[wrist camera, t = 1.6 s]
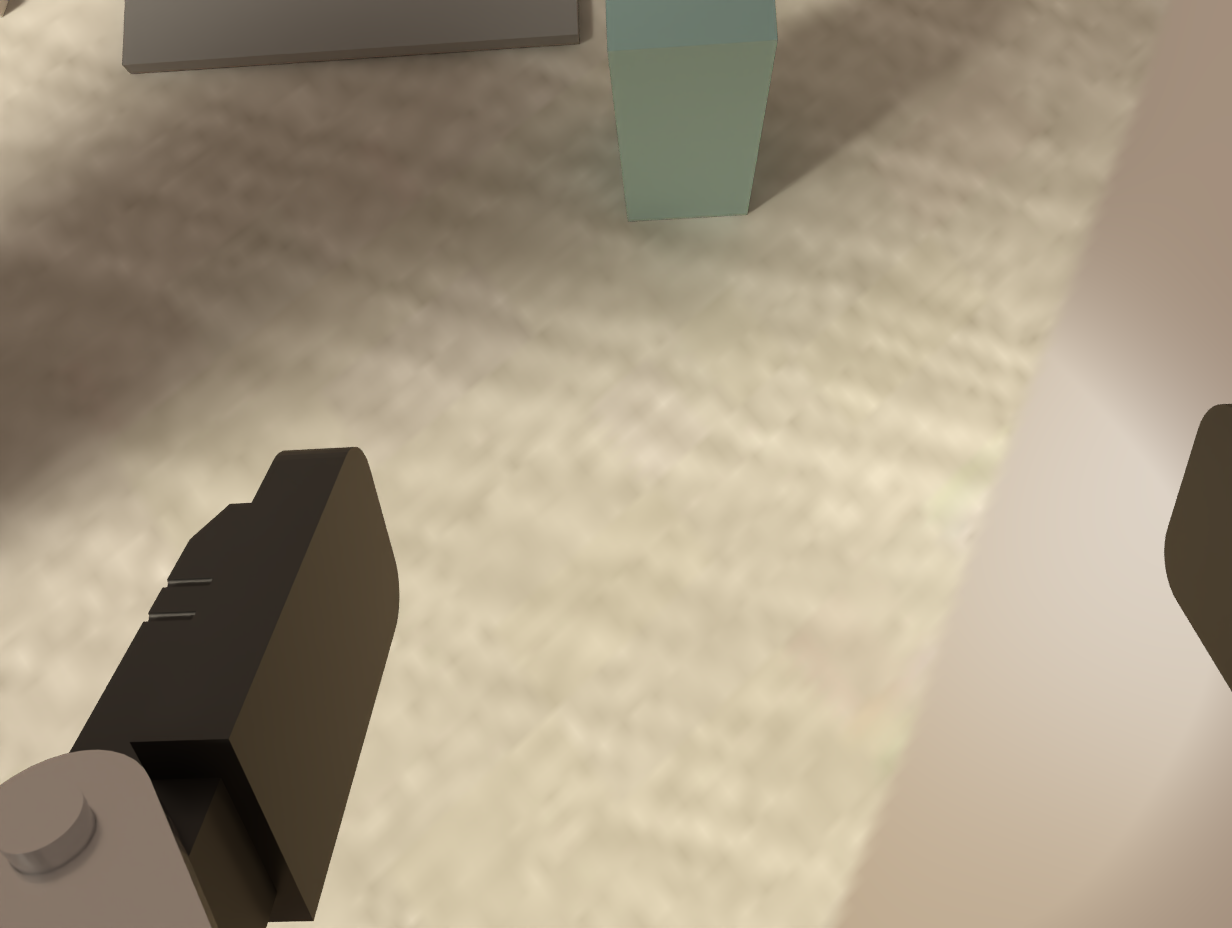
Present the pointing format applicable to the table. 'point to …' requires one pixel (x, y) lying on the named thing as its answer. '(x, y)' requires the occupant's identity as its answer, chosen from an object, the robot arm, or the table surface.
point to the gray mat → (331, 30)
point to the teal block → (689, 102)
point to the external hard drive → (3, 7)
